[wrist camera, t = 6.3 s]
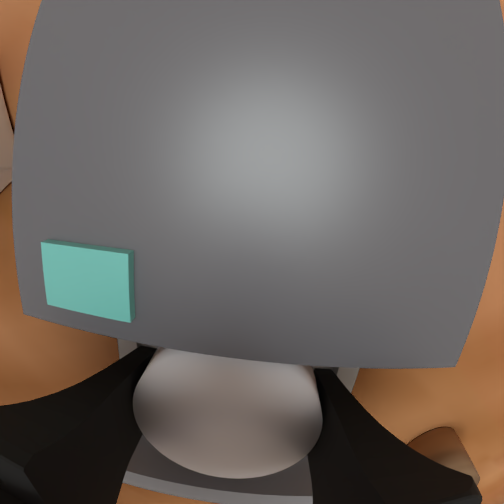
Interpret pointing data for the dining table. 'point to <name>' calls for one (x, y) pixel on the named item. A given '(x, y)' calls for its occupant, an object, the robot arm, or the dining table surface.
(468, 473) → the brown cylinder
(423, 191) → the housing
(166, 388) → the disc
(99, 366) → the dining table surface
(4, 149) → the milk carton
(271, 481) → the grey drawer
